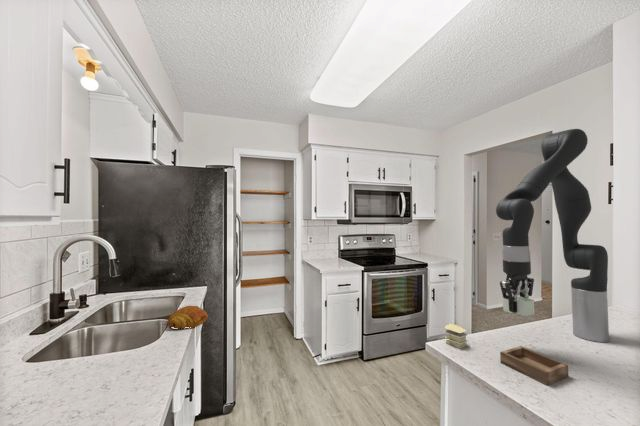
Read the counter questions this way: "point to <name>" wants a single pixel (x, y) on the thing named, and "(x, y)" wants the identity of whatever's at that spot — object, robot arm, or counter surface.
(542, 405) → the counter surface
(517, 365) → the big crate
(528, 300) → the box
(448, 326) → the stacked layers on plate
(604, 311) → the robot arm
